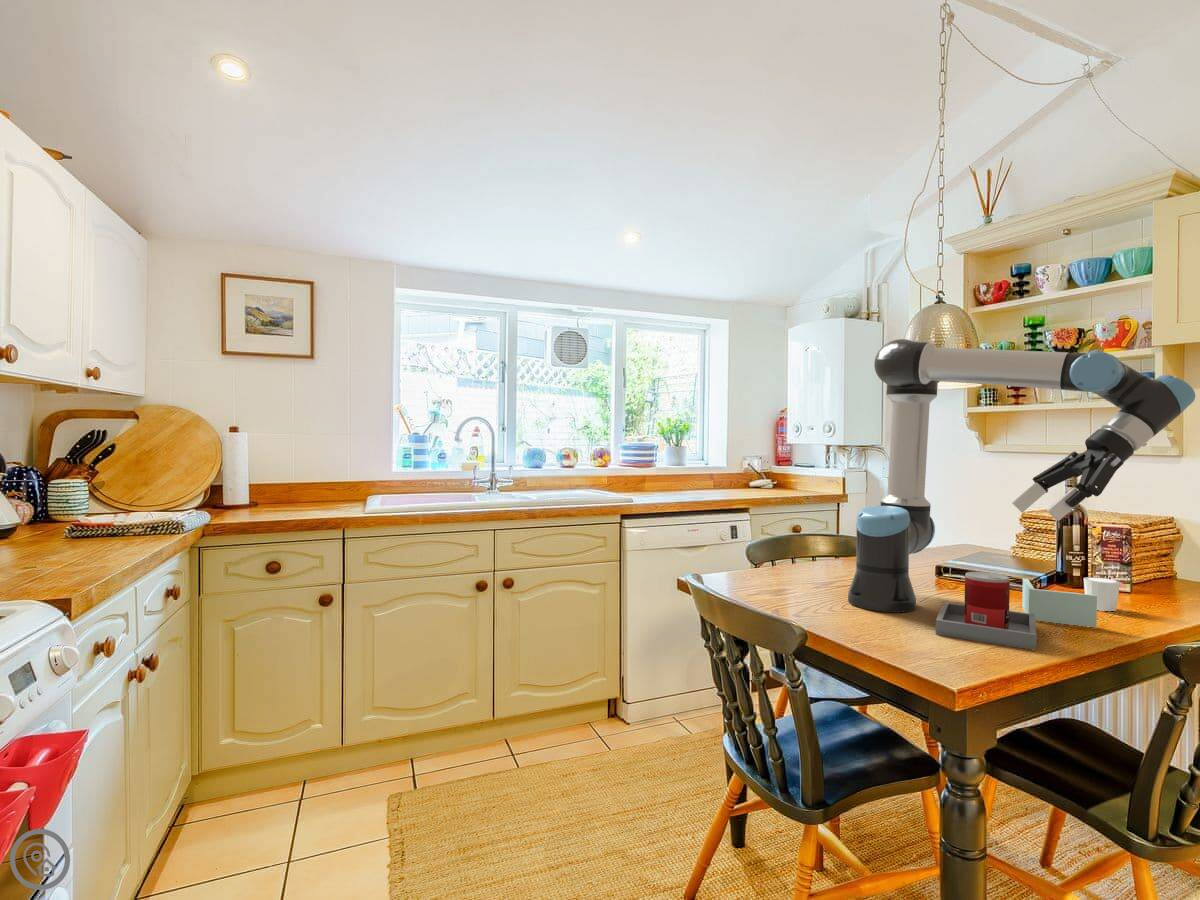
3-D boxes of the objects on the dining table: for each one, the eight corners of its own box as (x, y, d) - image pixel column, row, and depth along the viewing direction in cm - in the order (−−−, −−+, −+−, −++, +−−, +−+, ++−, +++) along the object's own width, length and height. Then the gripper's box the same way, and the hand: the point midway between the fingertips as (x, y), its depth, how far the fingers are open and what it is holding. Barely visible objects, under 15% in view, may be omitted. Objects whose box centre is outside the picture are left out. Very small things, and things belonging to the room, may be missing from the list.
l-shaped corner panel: (1096, 630, 133) (1097, 595, 133) (1028, 622, 139) (1029, 589, 139) (1084, 616, 144) (1085, 584, 144) (1022, 609, 149) (1022, 578, 149)
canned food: (1015, 634, 126) (1016, 580, 126) (972, 631, 128) (973, 578, 128) (999, 623, 134) (1000, 572, 133) (958, 620, 135) (959, 570, 135)
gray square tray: (935, 634, 128) (935, 620, 128) (943, 614, 142) (944, 601, 142) (1036, 650, 119) (1036, 635, 119) (1034, 628, 133) (1034, 614, 133)
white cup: (1116, 614, 143) (1117, 584, 143) (1079, 608, 149) (1080, 579, 148) (1122, 609, 148) (1122, 580, 148) (1086, 603, 153) (1086, 575, 153)
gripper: (1178, 455, 114) (1084, 534, 116) (1092, 451, 138) (1017, 516, 141) (1146, 426, 114) (1054, 505, 117) (1066, 427, 139) (992, 492, 142)
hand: (1033, 511), depth 129 cm, fingers open, 13 cm apart
